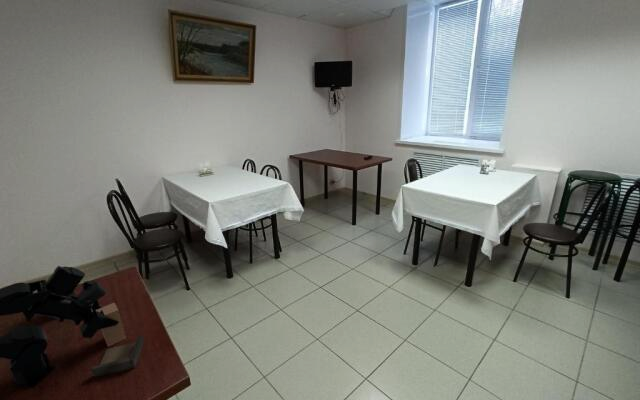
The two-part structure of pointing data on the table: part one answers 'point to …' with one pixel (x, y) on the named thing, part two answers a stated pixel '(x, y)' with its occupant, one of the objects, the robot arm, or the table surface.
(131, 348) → the grey shallow square piece
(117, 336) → the tan block
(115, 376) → the table surface
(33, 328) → the robot arm
